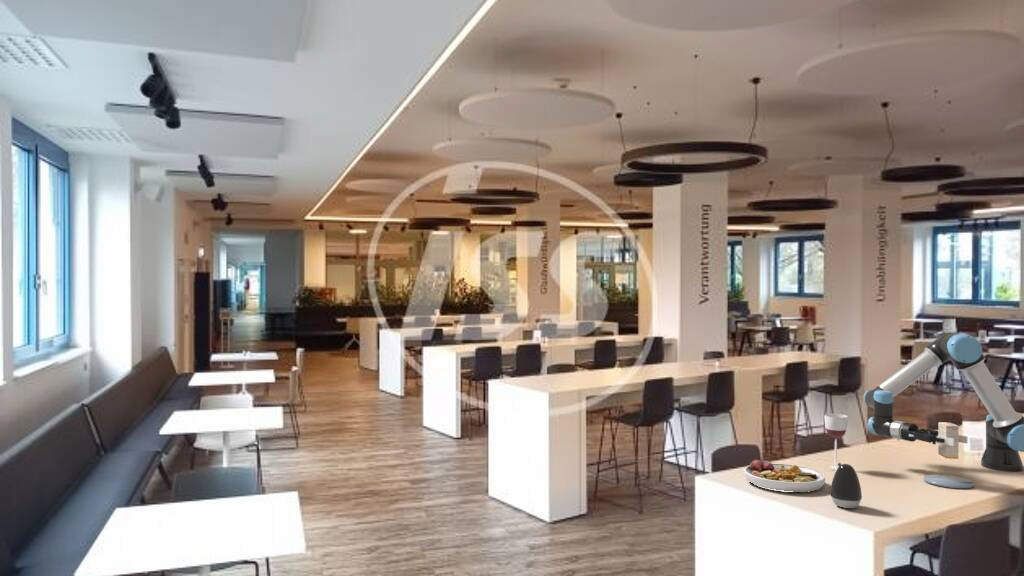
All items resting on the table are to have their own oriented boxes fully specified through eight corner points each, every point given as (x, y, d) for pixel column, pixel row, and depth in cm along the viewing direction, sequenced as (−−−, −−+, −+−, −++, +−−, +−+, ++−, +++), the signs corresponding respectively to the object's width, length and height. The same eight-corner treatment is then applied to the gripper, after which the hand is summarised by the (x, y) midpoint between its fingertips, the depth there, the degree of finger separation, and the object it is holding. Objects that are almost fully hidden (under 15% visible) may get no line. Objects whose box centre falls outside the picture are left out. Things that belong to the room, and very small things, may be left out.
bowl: (838, 485, 286) (838, 465, 286) (803, 500, 265) (803, 479, 265) (766, 471, 308) (766, 453, 308) (729, 484, 287) (729, 464, 287)
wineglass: (826, 471, 308) (826, 417, 308) (822, 465, 317) (822, 413, 318) (849, 472, 306) (850, 418, 306) (844, 466, 315) (845, 414, 315)
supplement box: (959, 459, 284) (959, 425, 284) (945, 458, 285) (945, 425, 285) (950, 454, 292) (951, 422, 292) (937, 453, 293) (937, 421, 293)
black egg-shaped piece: (852, 502, 262) (852, 460, 262) (867, 511, 252) (867, 467, 252) (824, 502, 262) (825, 460, 262) (838, 511, 252) (838, 467, 252)
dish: (939, 476, 300) (939, 472, 300) (982, 485, 286) (982, 482, 286) (914, 481, 292) (915, 477, 292) (958, 491, 277) (958, 487, 277)
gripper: (919, 437, 310) (975, 447, 290) (889, 442, 299) (944, 453, 279) (919, 420, 310) (975, 429, 290) (889, 424, 299) (945, 434, 280)
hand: (960, 441), depth 285 cm, fingers closed on supplement box, 9 cm apart
